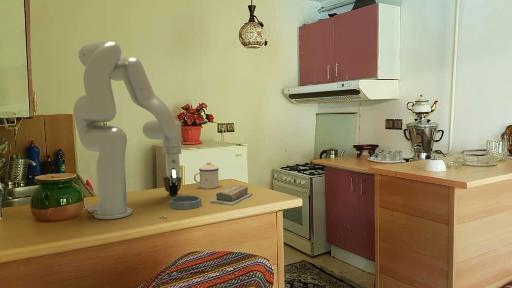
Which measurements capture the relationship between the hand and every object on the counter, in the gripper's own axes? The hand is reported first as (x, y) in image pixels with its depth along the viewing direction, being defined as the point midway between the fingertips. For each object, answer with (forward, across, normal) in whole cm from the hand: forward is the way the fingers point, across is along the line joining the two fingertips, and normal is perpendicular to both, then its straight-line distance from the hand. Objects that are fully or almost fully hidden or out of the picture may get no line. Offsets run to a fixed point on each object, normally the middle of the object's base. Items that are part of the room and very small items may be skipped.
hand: (172, 192), depth 164 cm
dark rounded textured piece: (+2, 0, 0) cm, 2 cm away
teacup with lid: (+2, +15, -17) cm, 22 cm away
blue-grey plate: (+2, -15, -4) cm, 15 cm away
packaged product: (+3, -11, -23) cm, 25 cm away
